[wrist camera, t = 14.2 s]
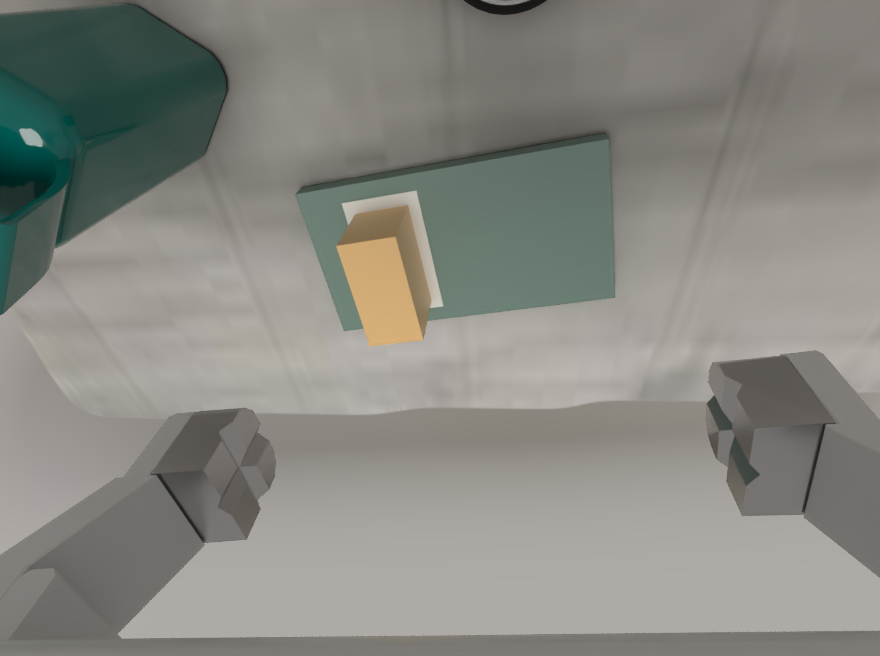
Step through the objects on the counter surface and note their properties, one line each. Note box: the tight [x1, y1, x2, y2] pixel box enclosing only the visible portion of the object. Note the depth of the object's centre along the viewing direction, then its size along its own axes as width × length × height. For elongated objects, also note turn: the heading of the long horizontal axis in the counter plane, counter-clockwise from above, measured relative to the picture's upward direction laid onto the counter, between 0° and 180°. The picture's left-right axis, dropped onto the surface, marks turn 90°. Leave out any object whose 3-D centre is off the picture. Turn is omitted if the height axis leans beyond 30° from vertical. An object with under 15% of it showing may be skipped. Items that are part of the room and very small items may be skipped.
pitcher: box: [0, 3, 226, 315], centre depth 28 cm, size 10×8×22 cm
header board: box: [295, 133, 615, 331], centre depth 40 cm, size 22×12×5 cm, turn 102°
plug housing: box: [336, 205, 432, 346], centre depth 39 cm, size 4×8×6 cm, turn 12°
